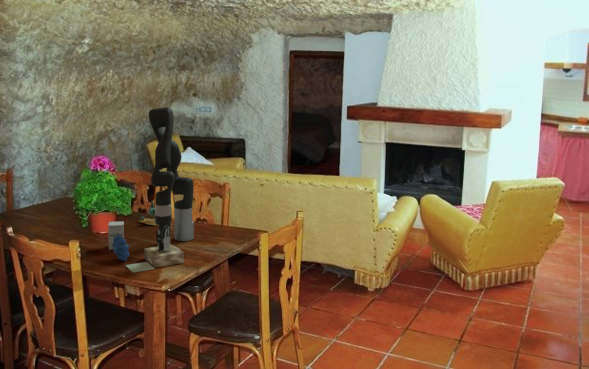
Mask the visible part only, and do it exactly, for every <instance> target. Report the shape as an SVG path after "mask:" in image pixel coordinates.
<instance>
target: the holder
mask: <svg viewBox="0 0 589 369" xmlns="http://www.w3.org/2000/svg"><path fill="white" fill-rule="evenodd" d="M143 251H144V253H143V254H144V256H143V258H144V260H145V261H146V262H148V263H149V264H150V265H151V266H153V267H154V268H159V267H160V268H161V267H165V266H167V267H168V266H172V265H178V264H183V263H185V252H184V251H183V250H181V248H178V247H177V246H175V245H174V244H170V252H165V253H159V252H158V247H157V246H151V247H146V248H145V247H144V248H143Z"/></svg>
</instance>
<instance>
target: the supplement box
mask: <svg viewBox="0 0 589 369" xmlns="http://www.w3.org/2000/svg"><path fill="white" fill-rule="evenodd" d="M124 225H125V222H124V221H108V225H107V226H108V228H107V229H108V231H107V232H108V250H110V251H111V250H113V246H112V244H113V242H114V241H113V238H114V237H115V236H116V237H117V235H121V236H122V238H124V239H125V231H124V230H125V226H124Z"/></svg>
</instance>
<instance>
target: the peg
mask: <svg viewBox="0 0 589 369" xmlns="http://www.w3.org/2000/svg"><path fill="white" fill-rule="evenodd" d="M160 240H161V238H160ZM156 243H157V242H156ZM170 245H171V235H170V236H168V235H166V238H164V250H163V251H160V250H159V243H157V245H156V247H158V252H159V253H165V252H170Z"/></svg>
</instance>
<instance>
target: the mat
mask: <svg viewBox="0 0 589 369" xmlns="http://www.w3.org/2000/svg"><path fill="white" fill-rule="evenodd" d="M125 267H126V268H127V269H128V270H129V271H130V272H131V273H133V274H134V273H140V272H146V271H150V270H152V271H153V270H156V267H154V266H153V265H152V264H150V263H149V262H148V261H144V262H143V261H142V262H138V263H131V264H126V265H125Z"/></svg>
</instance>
